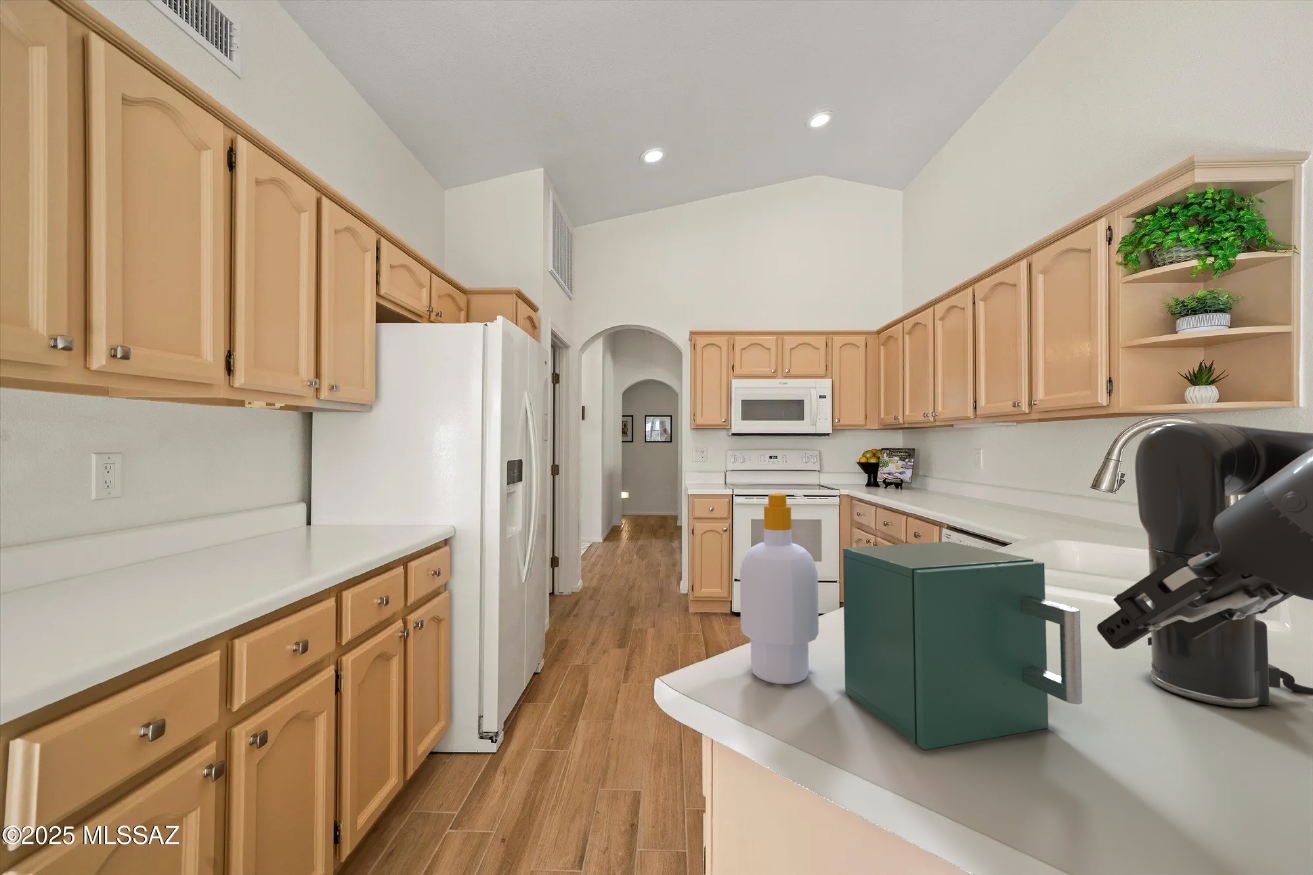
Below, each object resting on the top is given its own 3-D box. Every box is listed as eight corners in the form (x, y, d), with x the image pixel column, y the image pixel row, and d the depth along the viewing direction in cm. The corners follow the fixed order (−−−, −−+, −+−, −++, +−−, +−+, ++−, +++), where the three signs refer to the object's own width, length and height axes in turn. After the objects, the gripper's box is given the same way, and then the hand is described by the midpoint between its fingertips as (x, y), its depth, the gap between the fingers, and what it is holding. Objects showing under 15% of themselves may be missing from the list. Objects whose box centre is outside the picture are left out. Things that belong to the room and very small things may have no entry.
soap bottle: (818, 663, 75) (815, 492, 76) (820, 695, 65) (817, 498, 66) (745, 656, 78) (743, 491, 79) (736, 686, 68) (734, 497, 69)
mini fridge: (1037, 723, 58) (1033, 559, 59) (914, 745, 54) (911, 568, 55) (951, 678, 70) (948, 541, 70) (844, 693, 66) (842, 547, 66)
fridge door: (1101, 755, 52) (1096, 573, 52) (967, 782, 48) (963, 585, 48) (1039, 723, 58) (1035, 560, 59) (916, 744, 54) (913, 570, 55)
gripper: (1325, 572, 31) (1117, 687, 42) (1466, 558, 35) (1241, 667, 45) (1207, 477, 36) (1049, 601, 47) (1341, 473, 40) (1166, 589, 51)
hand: (1144, 633), depth 46 cm, fingers open, 8 cm apart
